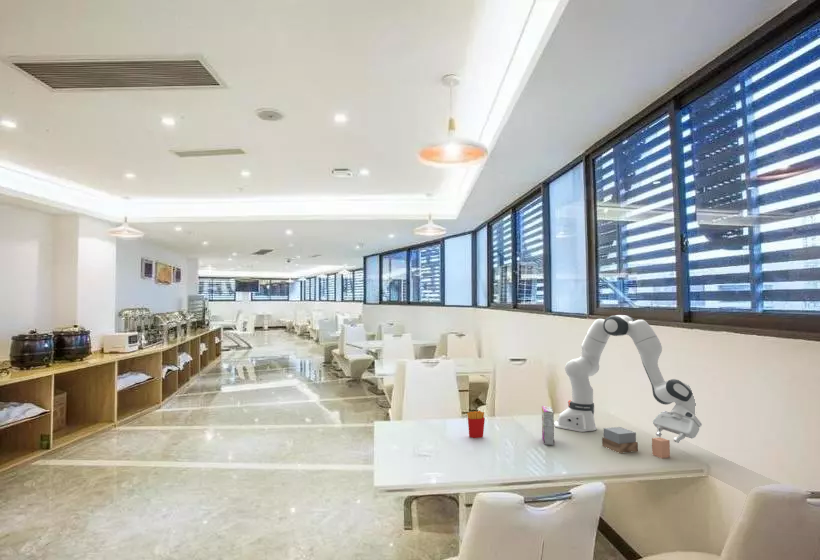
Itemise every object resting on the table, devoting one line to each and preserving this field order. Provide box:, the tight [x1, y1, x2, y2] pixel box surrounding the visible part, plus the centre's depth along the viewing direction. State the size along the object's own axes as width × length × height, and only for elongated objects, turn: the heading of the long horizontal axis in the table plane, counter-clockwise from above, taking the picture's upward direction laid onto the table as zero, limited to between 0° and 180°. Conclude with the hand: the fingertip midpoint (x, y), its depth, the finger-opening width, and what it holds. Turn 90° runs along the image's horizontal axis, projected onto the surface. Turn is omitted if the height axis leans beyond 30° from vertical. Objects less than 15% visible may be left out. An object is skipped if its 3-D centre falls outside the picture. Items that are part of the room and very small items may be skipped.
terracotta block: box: [651, 436, 671, 459], centre depth 203 cm, size 5×5×8 cm
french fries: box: [466, 410, 485, 439], centre depth 228 cm, size 9×4×13 cm, turn 104°
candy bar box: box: [541, 405, 555, 446], centre depth 221 cm, size 11×5×16 cm, turn 168°
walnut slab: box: [601, 436, 639, 454], centre depth 212 cm, size 11×11×4 cm
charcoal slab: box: [603, 426, 637, 444], centre depth 212 cm, size 10×10×4 cm
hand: (666, 438), depth 204 cm, fingers open, 8 cm apart
